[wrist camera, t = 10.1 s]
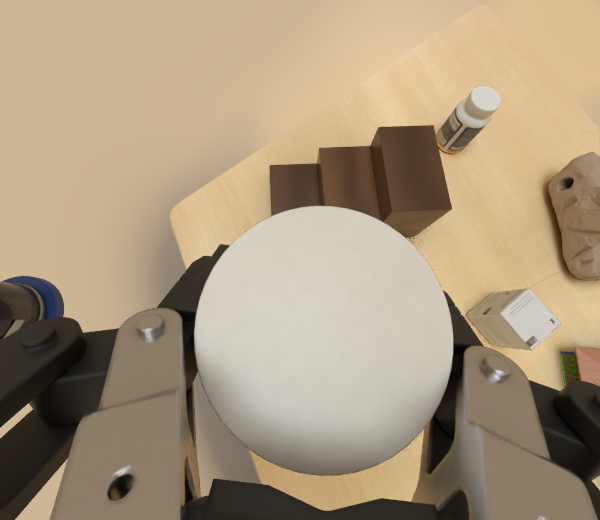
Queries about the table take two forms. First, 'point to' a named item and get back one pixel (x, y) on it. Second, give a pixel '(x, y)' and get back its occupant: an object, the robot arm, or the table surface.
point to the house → (586, 365)
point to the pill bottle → (468, 119)
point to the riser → (372, 180)
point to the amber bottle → (323, 340)
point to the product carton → (513, 319)
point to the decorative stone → (579, 214)
